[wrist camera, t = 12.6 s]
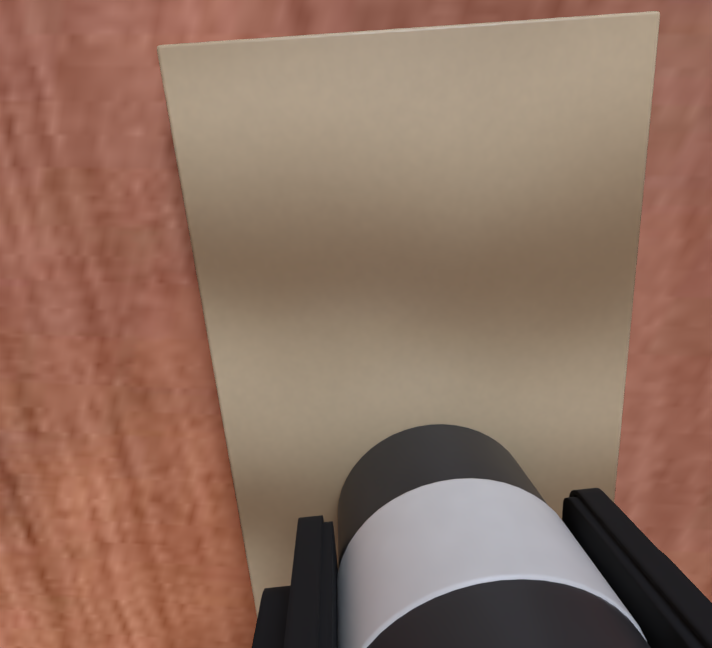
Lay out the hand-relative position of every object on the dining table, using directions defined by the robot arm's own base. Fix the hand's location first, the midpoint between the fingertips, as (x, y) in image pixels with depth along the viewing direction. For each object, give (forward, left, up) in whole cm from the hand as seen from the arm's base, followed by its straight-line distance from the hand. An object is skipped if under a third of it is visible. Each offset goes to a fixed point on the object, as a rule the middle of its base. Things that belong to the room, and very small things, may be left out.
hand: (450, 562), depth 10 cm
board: (0, 0, -3) cm, 3 cm away
